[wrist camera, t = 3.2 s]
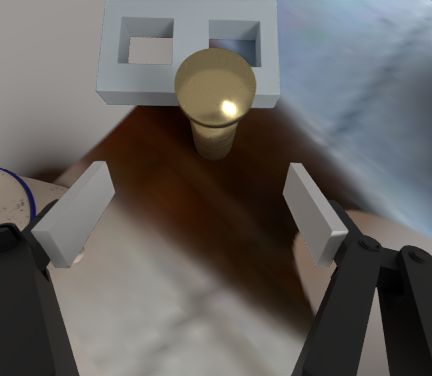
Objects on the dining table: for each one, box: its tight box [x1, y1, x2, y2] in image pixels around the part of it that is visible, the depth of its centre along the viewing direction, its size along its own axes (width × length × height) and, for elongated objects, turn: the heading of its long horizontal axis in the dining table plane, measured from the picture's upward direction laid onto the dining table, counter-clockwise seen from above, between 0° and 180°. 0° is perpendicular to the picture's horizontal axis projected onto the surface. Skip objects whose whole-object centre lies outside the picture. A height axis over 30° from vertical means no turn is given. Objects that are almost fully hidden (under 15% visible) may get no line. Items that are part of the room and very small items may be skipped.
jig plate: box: [96, 0, 280, 108], centre depth 29 cm, size 22×14×3 cm, turn 89°
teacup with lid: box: [0, 168, 85, 264], centre depth 20 cm, size 12×9×12 cm
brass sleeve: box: [174, 48, 256, 160], centre depth 22 cm, size 6×6×12 cm
